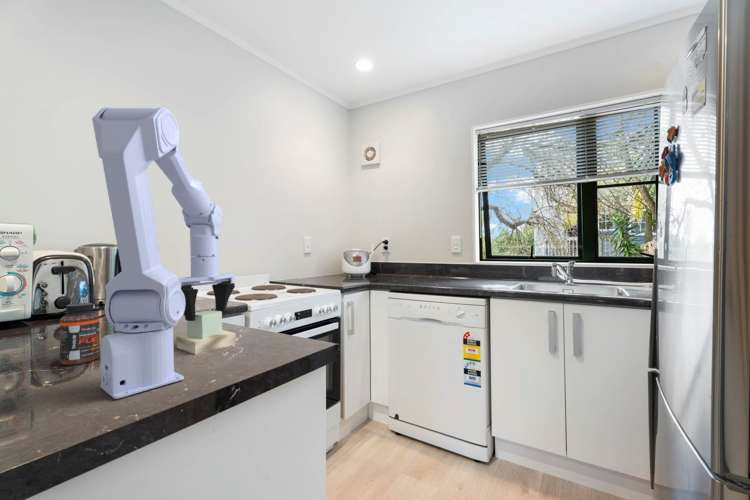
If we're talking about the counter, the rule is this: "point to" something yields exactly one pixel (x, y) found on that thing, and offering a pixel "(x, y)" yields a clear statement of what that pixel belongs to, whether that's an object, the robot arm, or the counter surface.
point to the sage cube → (205, 324)
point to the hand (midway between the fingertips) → (206, 317)
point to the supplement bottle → (79, 334)
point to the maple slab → (206, 342)
